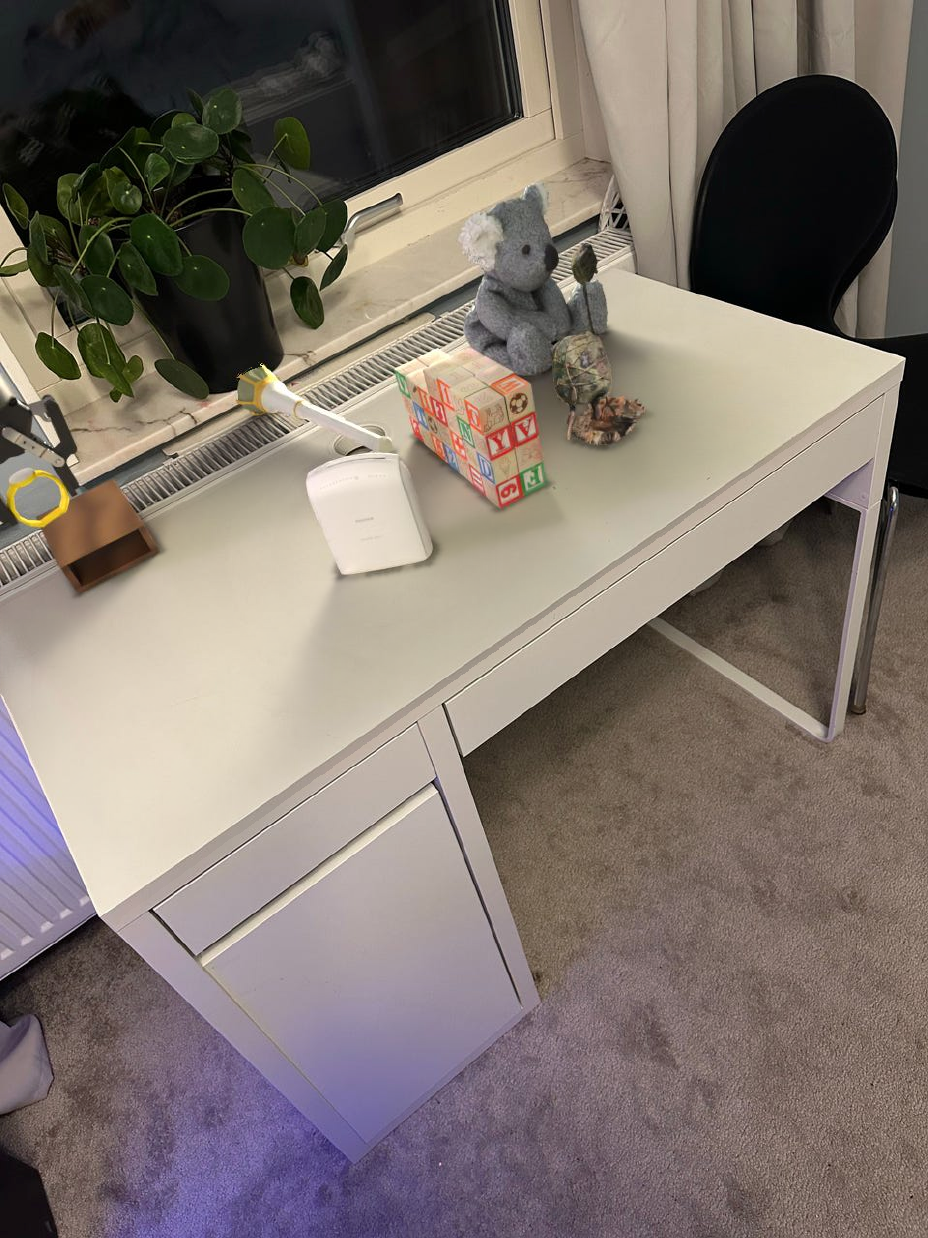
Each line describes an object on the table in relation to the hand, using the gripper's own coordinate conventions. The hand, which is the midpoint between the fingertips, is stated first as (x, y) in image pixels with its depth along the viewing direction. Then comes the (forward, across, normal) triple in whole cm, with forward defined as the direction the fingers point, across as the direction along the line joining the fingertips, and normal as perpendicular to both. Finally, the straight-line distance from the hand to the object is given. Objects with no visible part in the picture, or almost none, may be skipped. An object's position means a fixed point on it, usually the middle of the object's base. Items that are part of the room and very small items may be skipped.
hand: (43, 507), depth 92 cm
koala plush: (+10, -65, 0) cm, 65 cm away
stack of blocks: (+10, -44, +18) cm, 48 cm away
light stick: (+10, -34, -6) cm, 35 cm away
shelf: (+9, -3, -3) cm, 10 cm away
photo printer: (+10, -27, +26) cm, 38 cm away
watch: (+2, 0, 0) cm, 2 cm away
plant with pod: (+10, -57, +25) cm, 63 cm away
